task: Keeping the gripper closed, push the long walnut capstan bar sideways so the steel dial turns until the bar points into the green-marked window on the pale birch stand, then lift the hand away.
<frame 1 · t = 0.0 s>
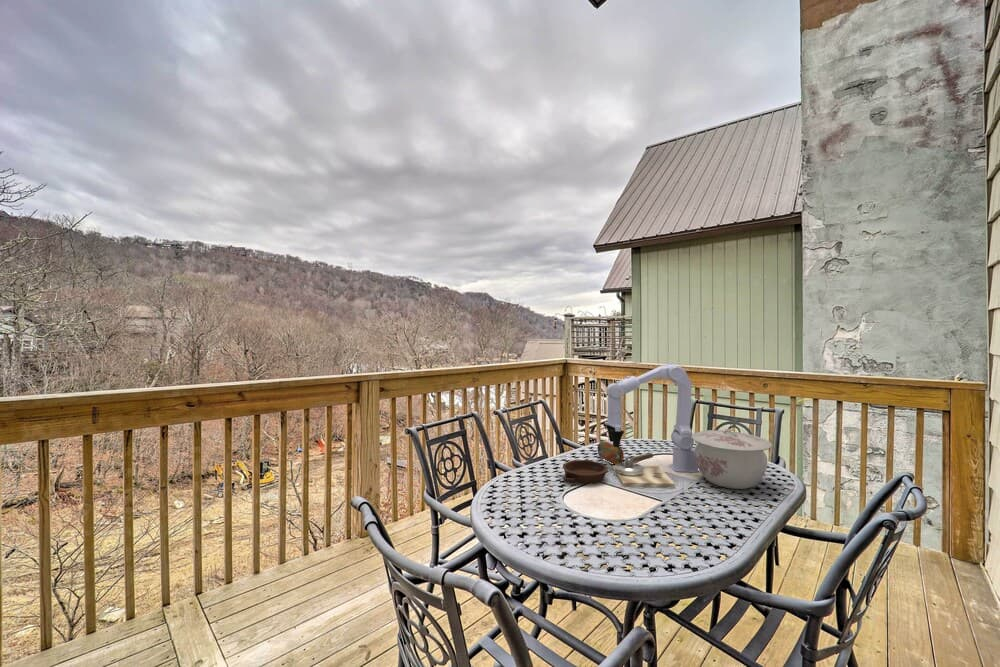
hand: (614, 444, 183), 10 cm above the table, tool pointing down, fingers open, 7 cm apart
capstan dial: (636, 462, 176), point 4 cm above the table, hinge at 35.0°
dish: (585, 479, 171), on the table
chamber pot: (729, 483, 166), on the table
tin: (610, 462, 191), on the table
level stand: (641, 477, 171), on the table
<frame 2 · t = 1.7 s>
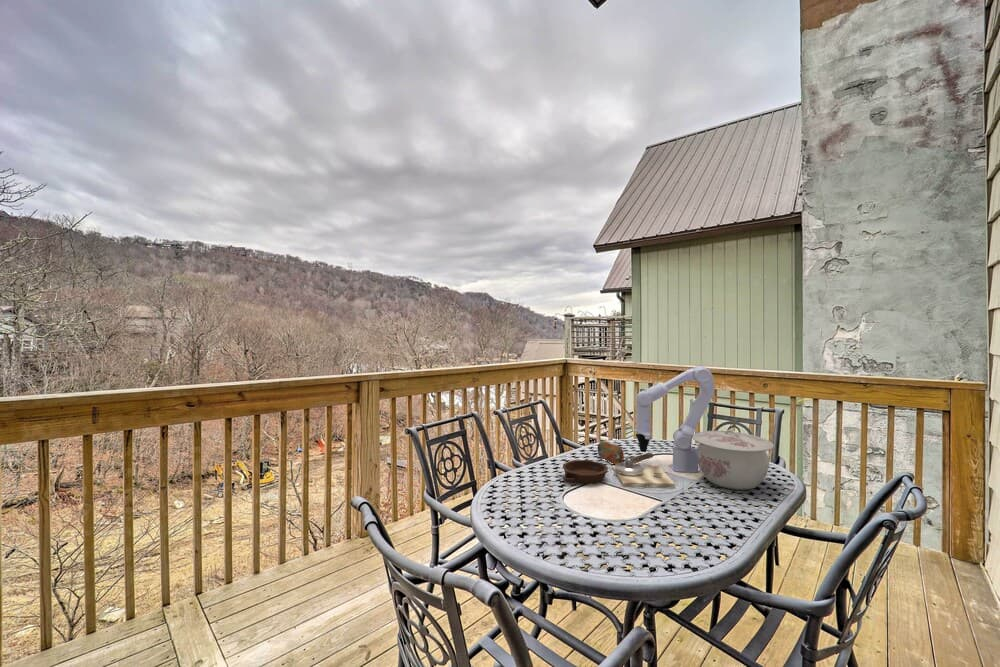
hand: (643, 451, 186), 6 cm above the table, tool pointing down, fingers closed
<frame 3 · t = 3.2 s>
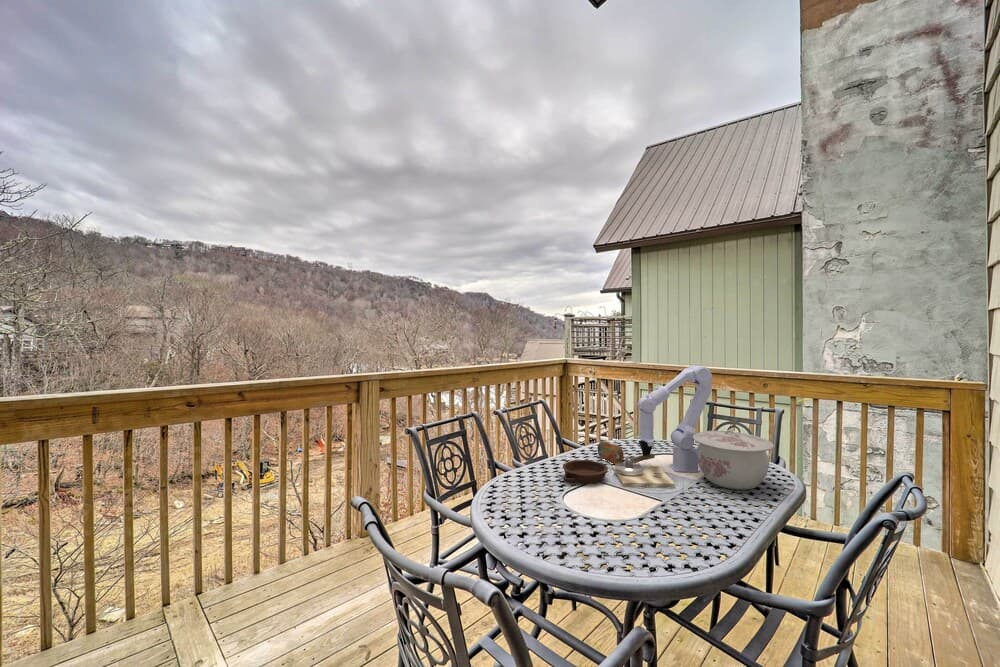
hand: (646, 458, 181), 4 cm above the table, tool pointing down, fingers closed
capstan dial: (636, 463, 176), point 4 cm above the table, hinge at 31.2°, touching gripper
everything else where it was.
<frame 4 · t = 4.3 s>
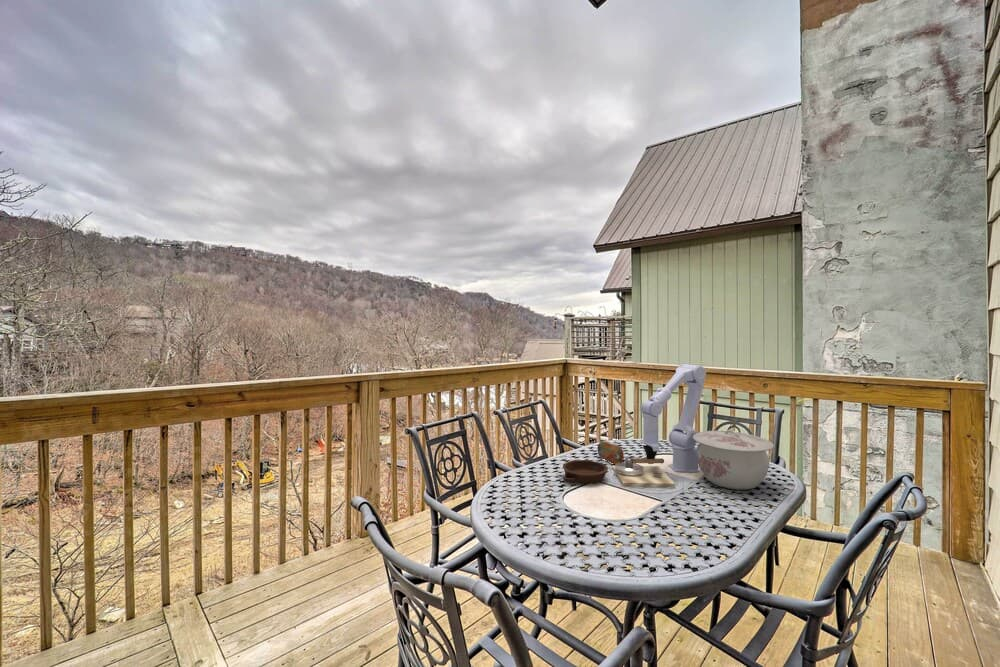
hand: (650, 463, 175), 4 cm above the table, tool pointing down, fingers closed
capstan dial: (639, 464, 174), point 4 cm above the table, hinge at 2.0°, touching gripper
everything else where it was.
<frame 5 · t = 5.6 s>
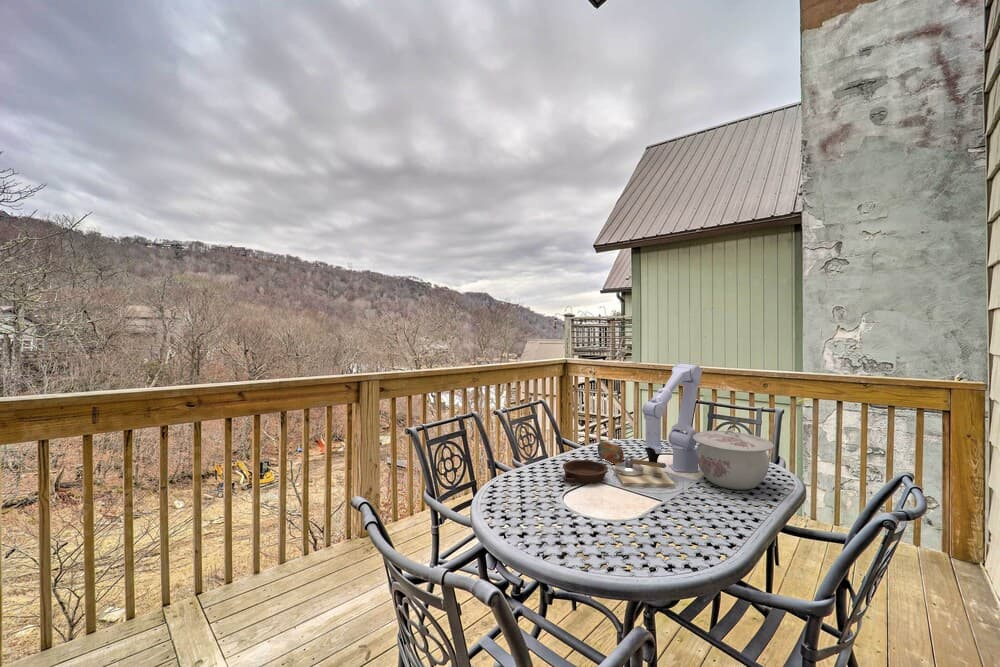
hand: (652, 466, 172), 4 cm above the table, tool pointing down, fingers closed
capstan dial: (639, 466, 172), point 4 cm above the table, hinge at -23.3°, touching gripper
everything else where it was.
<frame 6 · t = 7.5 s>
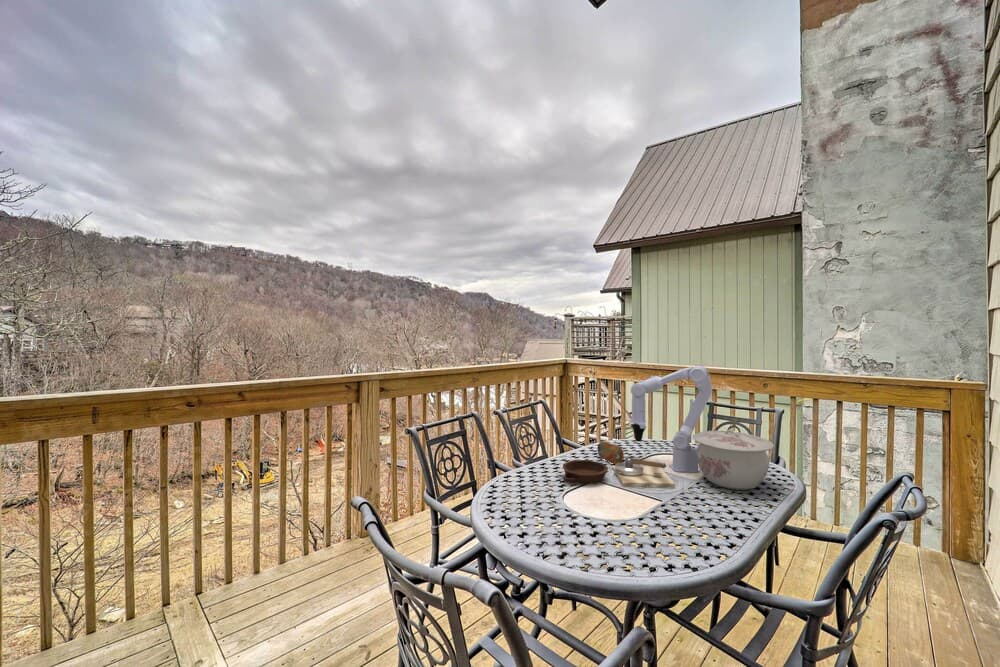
hand: (638, 441, 190), 9 cm above the table, tool pointing down, fingers closed
capstan dial: (639, 466, 172), point 4 cm above the table, hinge at -23.4°
everything else where it was.
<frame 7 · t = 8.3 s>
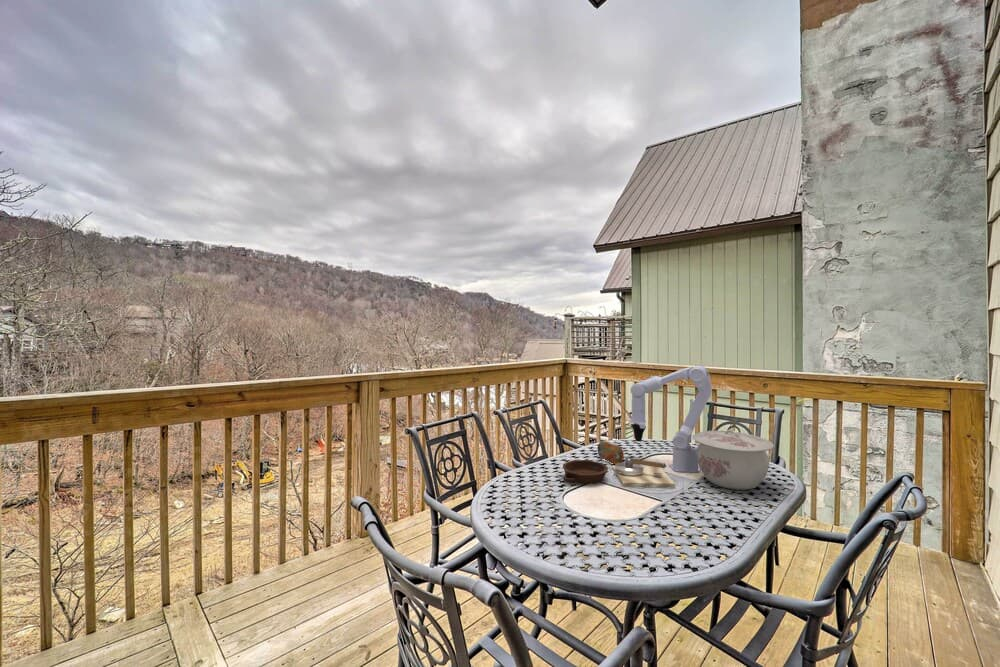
hand: (638, 440, 190), 9 cm above the table, tool pointing down, fingers closed
nothing on the table moved.
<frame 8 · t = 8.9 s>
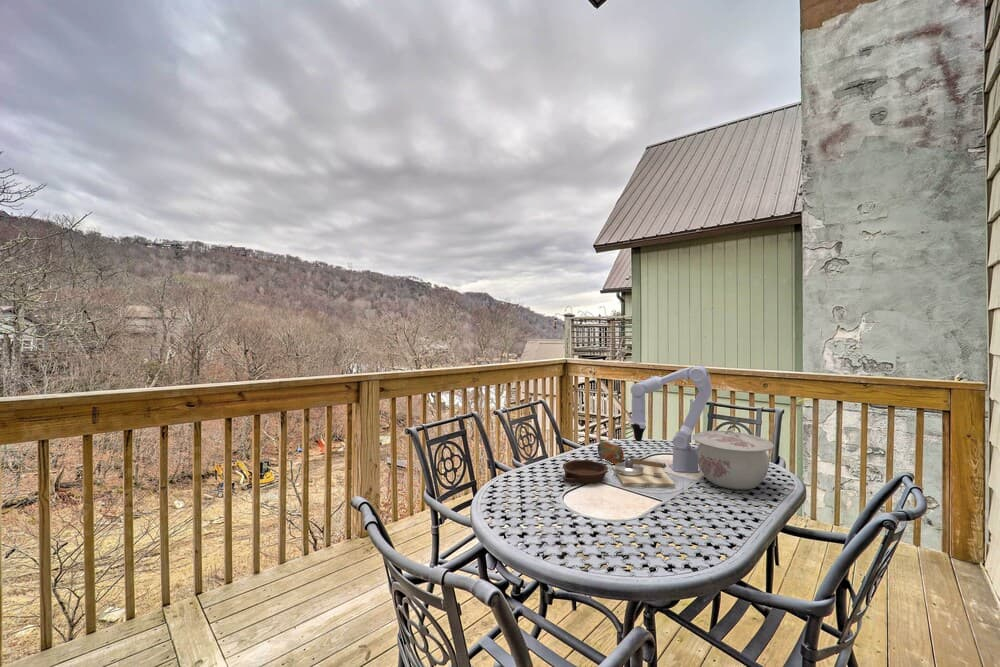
hand: (638, 440, 190), 9 cm above the table, tool pointing down, fingers closed
nothing on the table moved.
at the end: capstan dial at -23° (first picture: +35°); tin moved 0.3 cm from its start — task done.
